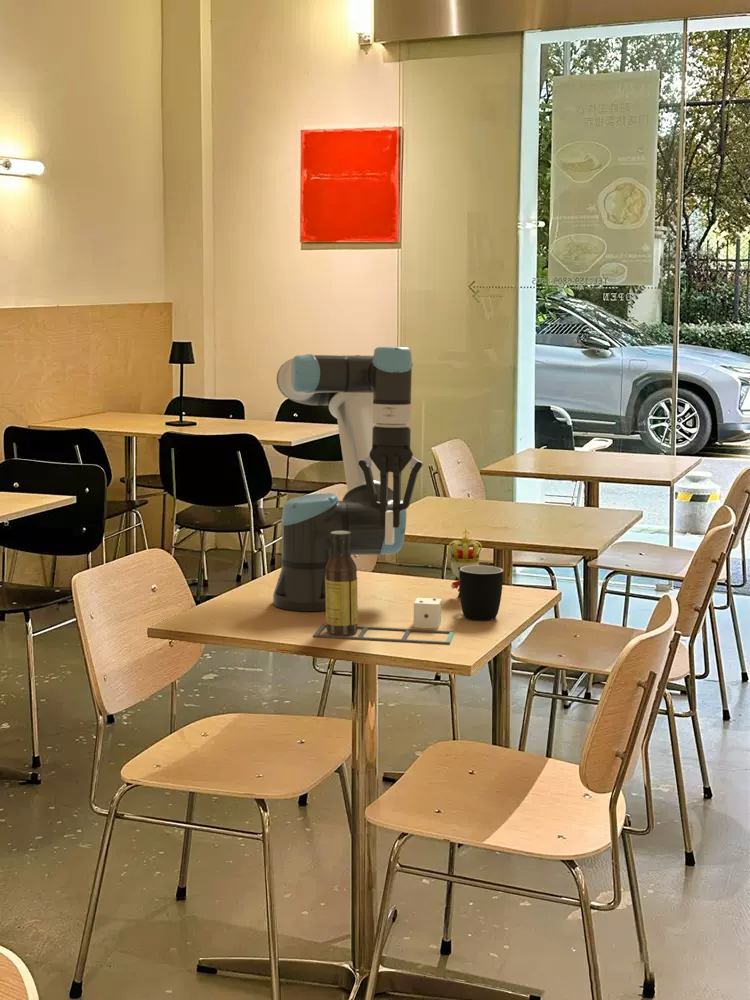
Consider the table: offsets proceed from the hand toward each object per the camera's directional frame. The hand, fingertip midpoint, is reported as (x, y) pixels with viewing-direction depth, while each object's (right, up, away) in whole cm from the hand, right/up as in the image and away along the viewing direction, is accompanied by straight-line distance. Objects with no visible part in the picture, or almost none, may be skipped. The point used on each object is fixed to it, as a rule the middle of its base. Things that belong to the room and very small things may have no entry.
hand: (389, 543), depth 252 cm
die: (+8, -16, +1) cm, 18 cm away
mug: (+18, -16, +10) cm, 26 cm away
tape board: (-1, -17, -7) cm, 19 cm away
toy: (+17, -13, +28) cm, 35 cm away
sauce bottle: (-10, -17, -6) cm, 21 cm away
